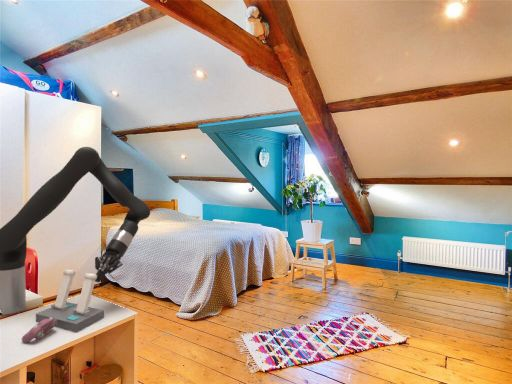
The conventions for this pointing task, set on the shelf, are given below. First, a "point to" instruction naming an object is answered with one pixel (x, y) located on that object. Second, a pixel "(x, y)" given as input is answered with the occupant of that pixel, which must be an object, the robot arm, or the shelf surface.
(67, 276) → the lever
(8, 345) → the shelf surface
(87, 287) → the lever
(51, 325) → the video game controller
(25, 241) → the robot arm
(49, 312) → the switch base
